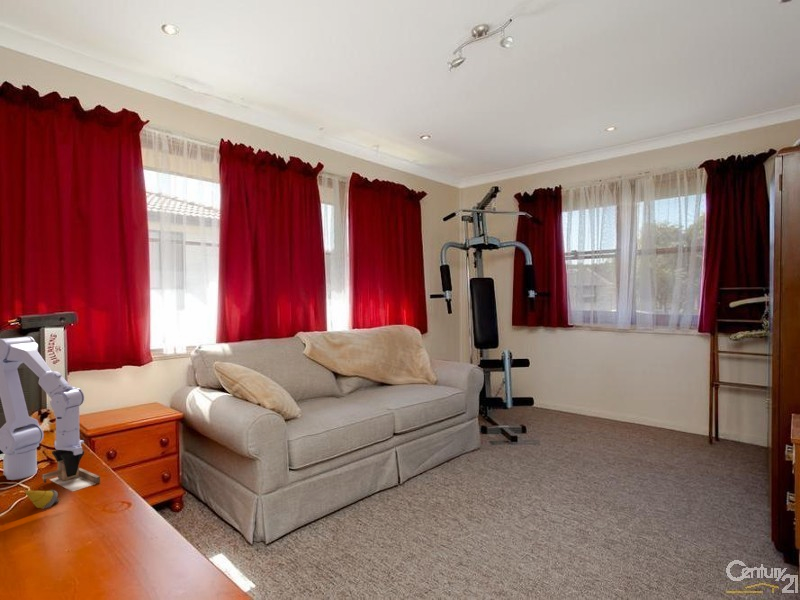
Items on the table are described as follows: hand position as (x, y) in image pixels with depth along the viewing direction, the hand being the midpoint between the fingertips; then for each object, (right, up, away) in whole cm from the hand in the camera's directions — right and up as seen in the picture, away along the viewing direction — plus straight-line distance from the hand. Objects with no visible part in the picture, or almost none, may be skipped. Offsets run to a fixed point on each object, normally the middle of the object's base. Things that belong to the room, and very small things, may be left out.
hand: (68, 474), depth 133 cm
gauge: (-1, -1, -2) cm, 2 cm away
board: (+4, -2, -2) cm, 5 cm away
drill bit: (+7, -3, -18) cm, 20 cm away
